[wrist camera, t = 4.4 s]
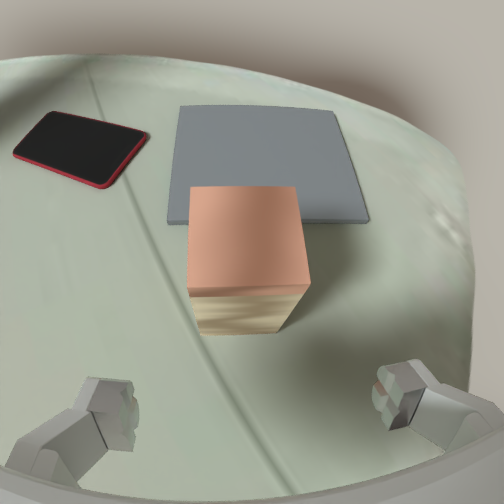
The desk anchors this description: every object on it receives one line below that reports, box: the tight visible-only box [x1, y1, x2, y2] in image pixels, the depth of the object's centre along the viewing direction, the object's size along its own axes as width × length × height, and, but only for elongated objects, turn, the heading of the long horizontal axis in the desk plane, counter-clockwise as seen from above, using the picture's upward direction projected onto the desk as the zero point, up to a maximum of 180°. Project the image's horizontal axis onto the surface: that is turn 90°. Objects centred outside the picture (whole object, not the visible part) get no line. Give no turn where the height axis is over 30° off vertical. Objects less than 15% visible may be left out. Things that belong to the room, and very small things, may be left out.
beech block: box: [187, 186, 311, 336], centre depth 18 cm, size 5×5×9 cm
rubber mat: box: [167, 105, 369, 225], centre depth 28 cm, size 16×14×1 cm
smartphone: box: [13, 111, 146, 189], centre depth 27 cm, size 7×1×15 cm
